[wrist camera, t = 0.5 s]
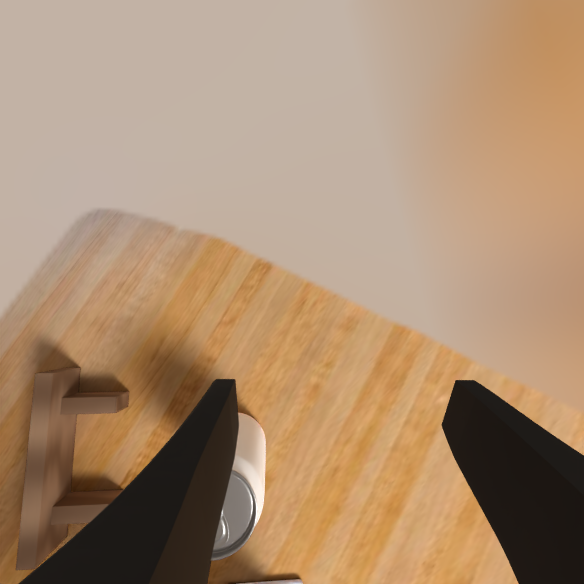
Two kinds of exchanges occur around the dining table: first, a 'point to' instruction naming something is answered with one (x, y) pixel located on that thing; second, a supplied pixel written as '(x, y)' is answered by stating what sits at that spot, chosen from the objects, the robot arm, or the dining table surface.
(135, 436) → the dining table surface
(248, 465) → the can
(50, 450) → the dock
